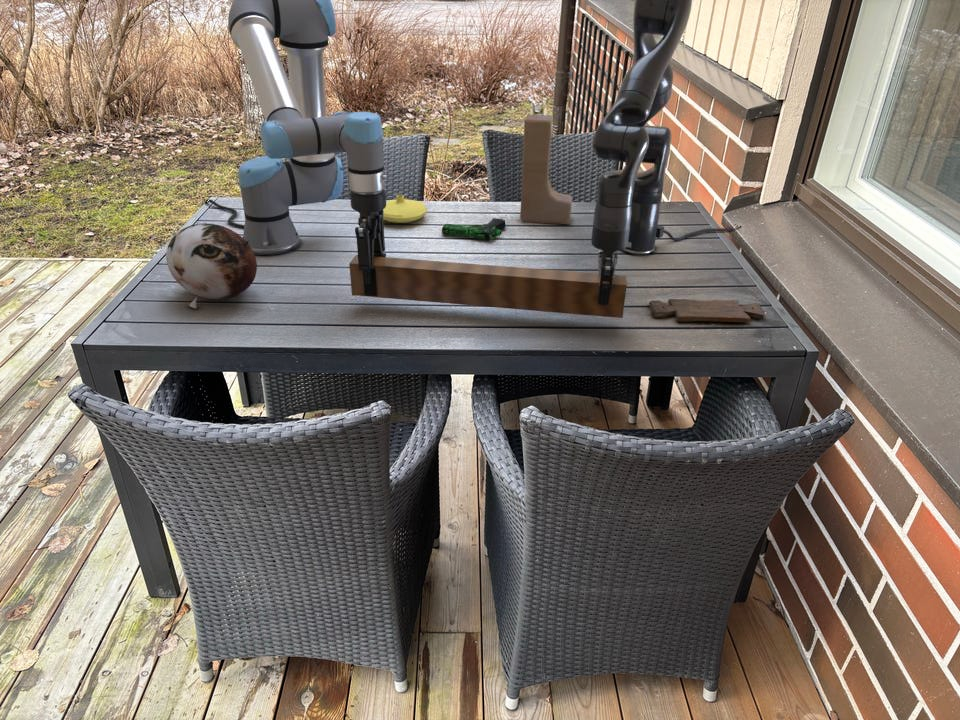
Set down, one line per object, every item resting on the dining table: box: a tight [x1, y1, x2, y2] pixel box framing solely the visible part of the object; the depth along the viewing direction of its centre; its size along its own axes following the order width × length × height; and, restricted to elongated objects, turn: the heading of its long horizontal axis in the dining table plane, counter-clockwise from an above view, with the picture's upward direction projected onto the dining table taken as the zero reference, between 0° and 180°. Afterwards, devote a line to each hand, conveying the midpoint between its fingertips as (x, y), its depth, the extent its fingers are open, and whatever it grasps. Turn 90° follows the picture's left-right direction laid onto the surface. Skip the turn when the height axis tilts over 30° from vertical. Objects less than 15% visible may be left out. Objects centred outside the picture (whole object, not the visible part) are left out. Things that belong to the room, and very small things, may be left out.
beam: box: [349, 254, 628, 319], centre depth 158 cm, size 61×5×8 cm, turn 81°
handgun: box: [441, 217, 506, 242], centre depth 207 cm, size 16×3×15 cm
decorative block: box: [519, 114, 573, 225], centre depth 210 cm, size 8×15×30 cm, turn 82°
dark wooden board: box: [648, 298, 765, 323], centre depth 164 cm, size 26×2×10 cm
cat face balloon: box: [165, 222, 258, 309], centre depth 165 cm, size 22×18×20 cm
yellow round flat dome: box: [383, 194, 428, 224], centre depth 214 cm, size 16×16×7 cm
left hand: (374, 289), depth 163 cm, fingers closed on beam, 5 cm apart
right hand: (603, 298), depth 155 cm, fingers closed on beam, 5 cm apart
